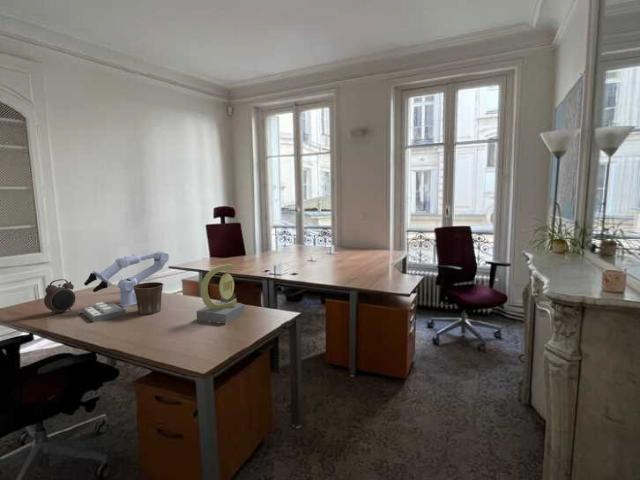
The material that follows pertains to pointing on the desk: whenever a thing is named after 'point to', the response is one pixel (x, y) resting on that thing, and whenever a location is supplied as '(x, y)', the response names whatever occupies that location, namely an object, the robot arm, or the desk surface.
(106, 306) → the button
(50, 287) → the alarm clock
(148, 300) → the plant pot
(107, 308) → the button
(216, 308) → the trophy
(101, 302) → the button
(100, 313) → the button panel
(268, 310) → the desk surface
